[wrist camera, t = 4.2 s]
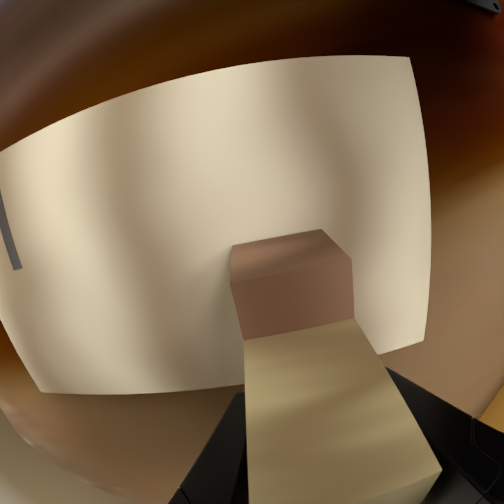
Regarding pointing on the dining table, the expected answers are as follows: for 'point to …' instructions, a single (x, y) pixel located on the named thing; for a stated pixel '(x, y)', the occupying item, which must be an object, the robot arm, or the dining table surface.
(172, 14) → the dining table surface
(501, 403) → the clamp
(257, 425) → the stacked cube assembly
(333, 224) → the board
